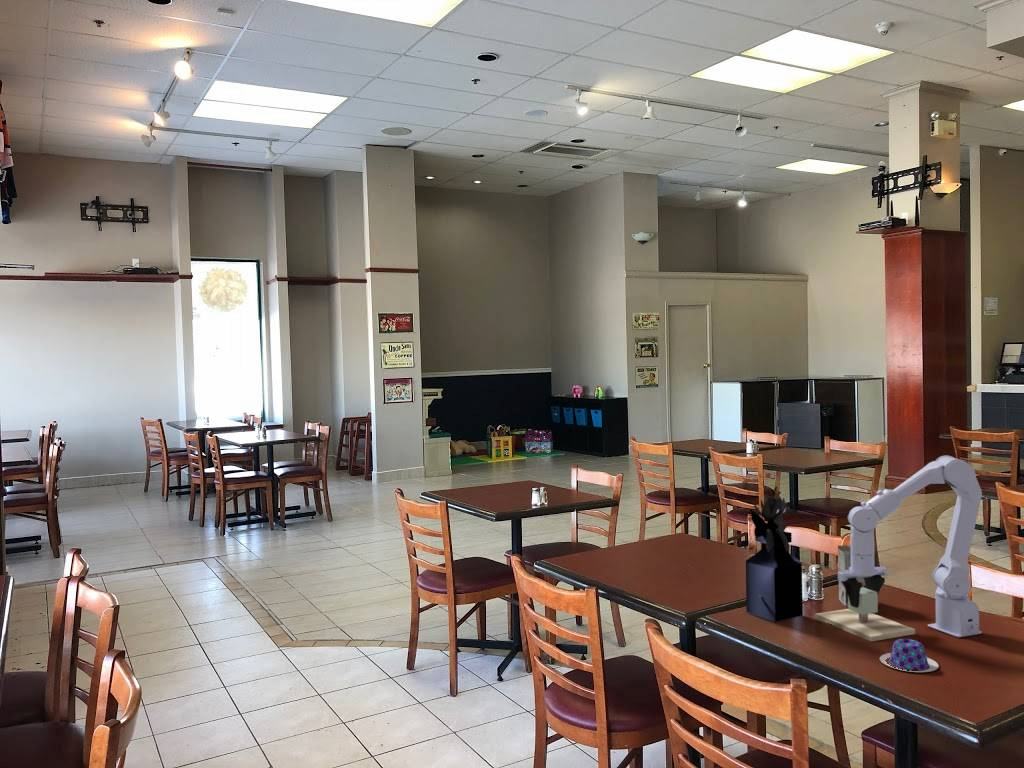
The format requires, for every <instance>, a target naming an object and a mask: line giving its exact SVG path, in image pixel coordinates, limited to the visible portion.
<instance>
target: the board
mask: <svg viewBox="0 0 1024 768" xmlns="http://www.w3.org/2000/svg"><path fill="white" fill-rule="evenodd" d="M814 618H815V619H816V620H819V621H820V622H824V623H826V624H828V623H829V624H828V625H830V624H832V625H831V626H833V625H834V626H833V627H835V626H836V628H837V629H840V628H841V630H842V629H843V631H845V632H848V633H849V634H852V635H855V636H857V637H859V638H862V639H864V640H866V641H869V642H877V641H883V640H887V639H893V638H901V637H906V636H911V635H916V628H913V627H910V626H908V625H904V624H902V623H899V622H897V621H894V620H892V619H889V618H886V617H883V616H881V615H878V614H875V613H869V614H860V613H857V612H854V611H852V610H849V609H848V608H844V609H837V610H832V611H825V612H824V611H823V612H820V613H819V612H818V613H815V614H814Z"/></svg>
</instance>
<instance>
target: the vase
mask: <svg viewBox="0 0 1024 768" xmlns="http://www.w3.org/2000/svg"><path fill="white" fill-rule="evenodd" d="M777 489H778V486H775V487H774V489H773V490H772V493H771V496H769V495H767V494H764V503H763V500H762V499H760V508H761V511H760V510H759V508H758V507H757V504H756V502H755V501H754V502H753V507H754V509H755V510H756V512H755V511H754V510H753V509H750V516H751V520H752V523H753V525H754V527H755V528H754V532H753V535H754V537H755V538H754V539H755V540H754V541H755V542H757V543H760V544H761V545H760V549H759V550H758V551H757V552H756V553H754V554H753V555H752V556H750V557H749V558H747V559H746V560H745V594H746V596H745V601H746V604H745V605H746V606H745V607H746V613H747V614H749V615H751V616H755V617H758V618H761V619H764V620H766V621H769V622H773V623H779V622H783V621H786V620H790V619H795V618H800V617H803V616H804V615H803V613H804V611H803V609H804V608H803V605H804V604H803V601H804V600H803V597H804V596H803V562H802V561H800V560H799V559H798V558H796V557H795V556H794V555H793V554H791V553H789V551H790V545H789V544H790V543H792V542H793V540H792V538H793V537H792V532H788V531H785V530H786V529H787V528H788V526H789V523H783V515H784V513H785V512H786V510H787V509H786V508H787V505H788V504H787V501H786V500H785V498H784V497H783V498H782V497H781V496H779V497H778V495H779V494H782V492H781V491H779V492H778V493H777V494H776V496H775V492H776V491H778V490H777ZM777 497H778V498H777ZM764 519H765V520H766V521H767V522H766V521H765V520H764Z"/></svg>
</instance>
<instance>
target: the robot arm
mask: <svg viewBox="0 0 1024 768" xmlns="http://www.w3.org/2000/svg"><path fill="white" fill-rule="evenodd" d="M946 483H947V484H948V485H949V486H950V487H951V489H952V490H953V491H954V492H955V494H956V500H955V505H954V509H953V516H952V519H951V523H950V528H949V534H948V536H947V537H948V538H947V541H946V546H945V551H944V554H943V556H942V557H941V558H940V559H939V563H938V565H937V567H936V568H935V569H934V570H933V572H932V579H933V582H934V584H935V585H936V586H937V587H936V589H935V592H934V593H935V594H934V596H935V622H934V623H929V624H927V627H929V628H931V629H934V630H937V631H939V632H942V633H945V634H947V635H950V636H953V637H956V638H963V637H969V636H974V635H975V636H976V635H980V634H982V633H983V632H982V631H981V630H980V609H979V605H978V604H977V603H976V602H975V601H973V600H972V599H970V598H969V597H968V595H969V592H970V590H971V586H972V585H971V581H970V572H971V571H970V567H969V563H968V562H969V561H968V559H969V555H970V550H971V548H972V547H971V546H972V542H973V537H974V533H975V528H976V523H977V519H978V514H979V510H980V506H981V501H982V496H983V492H982V488H981V487H980V484H979V481H978V479H977V476H976V471H975V469H974V468H973V467H972V466H971V465H970V464H969V463H968V462H966V460H964V459H963V460H962V459H959V458H955V457H954V456H951V455H941V456H939V457H938V458H936V459H935V461H934V460H932V461H931V462H928V463H927V464H926V465H925V466H923V468H921V469H920V470H918V471H917V472H915V474H913V475H912V476H910V477H909V478H907V479H906V480H905V481H903V482H902V483H901V484H899V485H898V486H896V487H895V488H894V489H888V488H887V489H886V488H885V489H883V490H881V489H879V490H877V491H876V492H875V494H876V495H874V496H873V497H871V498H870V499H868V500H867V501H862V502H861V503H860V506H854V507H853V508H851V510H850V511H849V513H848V515H847V521H848V523H849V524H850V541H849V542H850V546H851V567H849V569H848V570H845V571H842V572H837V580H838V581H839V580H841V582H842V584H843V585H844V587H845V589H846V591H847V594H848V597H849V600H850V604H851V606H853V607H856V608H858V606H859V595H860V589H861V586H862V583H860V582H858V580H856V579H858V578H864V581H865V585H866V588H867V589H869V590H872V591H875V592H877V594H878V595H879V593H880V591H881V588H882V587H883V585H885V581H886V579H885V576H888V567H885V566H877V567H875V559H874V549H875V534H874V531H875V529H876V527H877V526H878V522H881V521H882V520H884V519H886V518H887V517H888V516H890V515H892V514H893V513H894V512H896V511H897V510H899V509H901V506H902V503H903V500H905V499H907V498H908V497H911V496H912V495H913V494H916V493H917V492H919V491H920V490H921V489H923V488H925V487H927V486H928V485H931V484H932V485H934V484H935V485H936V484H939V485H940V484H944V485H945V484H946ZM882 576H883V577H882Z"/></svg>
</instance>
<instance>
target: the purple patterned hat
mask: <svg viewBox="0 0 1024 768" xmlns="http://www.w3.org/2000/svg"><path fill="white" fill-rule="evenodd" d="M889 657H890V659H889V661H888V662H889V664H890V663H891V664H892V666H893V665H894V667H896V668H894V667H892V666H890V665H891V664H890V665H889V664H887V662H886V661H885V660H886V659H887V658H889ZM879 661H880V662H881V663H882V664H884V665H885V666H888V667H890V668H892V669H897V670H900V671H905V672H908V671H907V670H908V669H909V672H911V673H912V672H913V673H928V672H933V671H936V670H937V669H938V668H939V664H938V663H937V662H936V661H935V660H933V659H931V658H929V657H927V654H926V650H925V648H924V645H923V643H921V642H919V641H918V640H916V639H915V640H914V639H910V638H899V639H896V640H894V642H893V644H892V648H891V652H887V653H884V654H881V656H880V657H879ZM898 667H899V669H898ZM900 668H903V670H902V669H900ZM912 670H918V671H912Z"/></svg>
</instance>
